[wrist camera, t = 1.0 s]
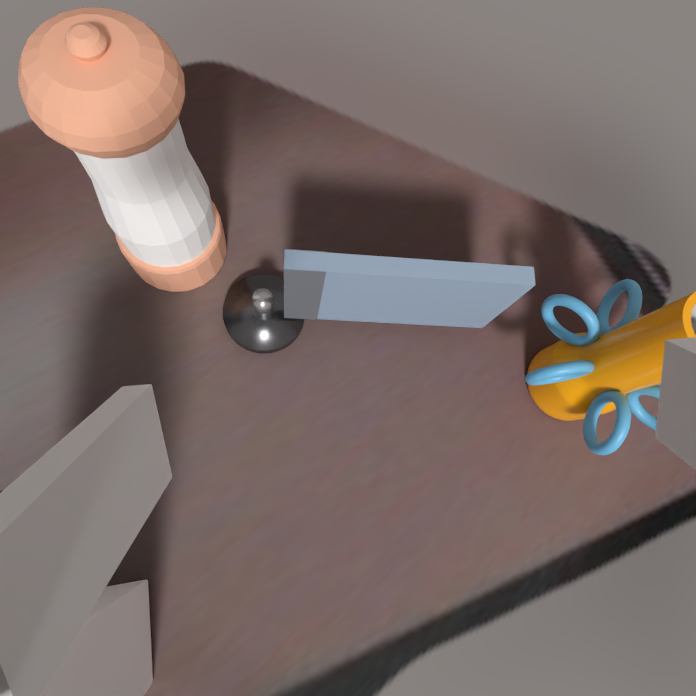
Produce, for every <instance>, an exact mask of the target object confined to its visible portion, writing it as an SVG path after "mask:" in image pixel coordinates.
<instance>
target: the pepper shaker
mask: <svg viewBox="0 0 696 696" xmlns="http://www.w3.org/2000/svg"><path fill="white" fill-rule="evenodd" d="M18 85H19V89H20V92H21V96H22V99H23V101H24V103H25V106H26V109H27V111H28V113H29V116H30V118H31V119H32V120H33V121H34V122H35V123H36V124H37V125H38V127H39V128H40V129H41V130H42V131H43V132H44V133H45V134H46V135H47V136H49V137H50V138H52V139H53V140H55V141H57V142H58V143H60V144H62V145H64V146H66V147H68V148H69V149H71V150H73V151H74V152H75V153H76V155H77V157H78V158H79V160H80V162H81V163H82V165H83V166H84V168H85V170H86V171H87V173H88V175H89V176H90V178H91V179H92V182H93V185H94V188H95V191H96V194H97V197H98V200H99V203H100V206H101V208H102V211H103V213H104V216H105V218H106V220H107V223H108V224H109V226H110V227H111V228H112V230H113V231H114V232H115V234H116V240H117V242H118V245H119V247H120V249H121V252H122V253H123V255H124V256H125V258H126V259H127V260H128V262H129V263H130V265H131V266H132V268H133V269H134V270H135V272H136V273H137V274H138V275H139V276H140V277H141V278H142V279H143V280H144V281H145V282H146V283H148V284H150V285H152V286H154V287H155V288H157V289H161V290H166V291H171V292H180V291H190V290H192V289H195V288H197V287H200V286H203V285H204V284H206V283H207V282H208V281H209V280H211V279H212V278H213V277H215V276H216V274H217V273H218V271H219V270H220V268H221V267H222V265H223V263H224V259H225V256H226V252H227V249H226V238H225V234H224V229H223V225H222V221H221V217H220V215H219V212H218V210H217V208H216V206H215V204H214V203H213V202H212V201H211V198H210V193H209V188H208V186H207V184H206V182H205V180H204V178H203V175H202V174H201V172H200V170H199V168H198V166H197V165H196V163H195V161H194V159H193V157H192V156H191V154H190V152H189V150H188V148H187V145H186V142H185V139H184V135H183V132H182V129H181V125H180V122H179V119H178V118H179V115H180V112H181V109H182V106H183V103H184V98H185V82H184V73H183V71H182V69H181V67H180V65H179V63H178V61H177V58H176V56H175V55H174V53H173V51H172V50H171V48H170V47H169V45H168V44H167V43H166V42H165V41H164V40H163V39H162V38H161V37H160V36H159V35H158V34H157V33H156V32H155V31H154V30H153V29H152V28H150V27H149V26H148V25H146V24H145V23H143V22H142V21H140V20H138V19H136V18H134V17H132V16H130V15H129V14H127V13H125V12H120V11H116V10H112V9H108V8H78V9H75V10H71V11H66V12H62V13H60V14H58V15H56V16H54V17H52V18H51V19H49V20H47V21H45V22H43V23H42V24H41V25H40V26H39V27H38V28H37V29H36V30H35V31H34V32H33V33H32V34H31V35H30V36H29V38H28V40H27V43H26V45H25V47H24V49H23V51H22V54H21V58H20V62H19V80H18Z"/></svg>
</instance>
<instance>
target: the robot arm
mask: <svg viewBox="0 0 696 696" xmlns="http://www.w3.org/2000/svg"><path fill="white" fill-rule="evenodd" d="M655 438H656V439H657V440H658V441H660V442H661V443H662V444H663V445H665V446H666V447H667V448H668V449H670V450H671V451H672V452H673V453H675V454H676V455H677V456H679V457H680V458H681V459H682V460H684V461H685V462H686V463H687V464H689V465H690V466H691V467H692V468H694V469H695V470H696V337H693V338H681V339H670V340H665V349H664V358H663V368H662V377H661V387H660V396H659V406H658V415H657V425H656V434H655ZM171 479H172V473H171V469H170V464H169V460H168V455H167V451H166V446H165V442H164V437H163V433H162V428H161V424H160V419H159V415H158V410H157V406H156V401H155V397H154V392H153V388H152V384H145V385H134V386H122V387H121V388H120V389H119V390H118V391H117V392H116V393H114V394H113V395H112V396H111V397H110V398H109V399H107V400H106V401H105V402H104V403H103V404H102V405H101V406H99V407H98V408H97V409H96V410H95V411H94V412H93V413H91V414H90V415H89V416H88V417H87V418H86V419H85V420H83V421H82V422H81V423H80V424H79V425H78V426H77V427H75V428H74V429H73V430H72V431H71V432H70V433H68V434H67V435H66V436H65V437H64V438H63V439H62V440H60V441H59V442H58V443H57V444H56V445H55V446H54V447H52V448H51V449H50V450H49V451H48V452H47V453H46V454H44V455H43V456H42V457H41V458H40V459H39V460H38V461H36V462H35V463H34V464H33V465H32V466H31V467H29V468H28V469H27V470H26V471H25V472H24V473H23V474H21V475H20V476H19V477H18V478H17V479H16V480H15V481H13V482H12V483H11V484H10V485H9V486H8V487H7V488H5V489H4V490H2V491H0V696H40V694H41V693H42V691H43V689H44V688H45V686H46V685H47V683H48V681H49V680H50V678H51V676H52V675H53V673H54V671H55V670H56V668H57V666H58V665H59V663H60V661H61V660H62V658H63V657H64V655H65V653H66V652H67V650H68V648H69V647H70V645H71V643H72V642H73V640H74V638H75V637H76V635H77V633H78V632H79V630H80V629H81V627H82V625H83V624H84V622H85V620H86V619H87V617H88V615H89V614H90V612H91V610H92V609H93V607H94V605H95V604H96V602H97V601H98V599H99V597H100V596H101V594H102V592H103V591H104V589H105V587H106V586H107V584H108V582H109V581H110V579H111V578H112V576H113V574H114V573H115V571H116V569H117V568H118V566H119V564H120V563H121V561H122V559H123V558H124V556H125V554H126V553H127V551H128V550H129V548H130V546H131V545H132V543H133V541H134V540H135V538H136V536H137V535H138V533H139V531H140V530H141V528H142V526H143V525H144V523H145V522H146V520H147V518H148V517H149V515H150V513H151V512H152V510H153V508H154V507H155V505H156V503H157V502H158V500H159V498H160V497H161V495H162V494H163V492H164V490H165V489H166V487H167V485H168V484H169V482H170V480H171Z"/></svg>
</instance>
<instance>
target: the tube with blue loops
mask: <svg viewBox="0 0 696 696" xmlns="http://www.w3.org/2000/svg"><path fill="white" fill-rule="evenodd" d="M624 291H627V292H628V295H629V301H628V306H627V309H626V312H625V314H624V316H623V318H622V319H621V321H620V322H619V323H618V324H617V325H616V326H615V327H613V328H610V327H609V323H608V319H609V313H610V310H611V308H612V305H613V303H614V302H615V300H616V299H617V297H618V296H619V295H620V294H621V293H623V292H624ZM641 305H642V291H641V288H640V286H639V285H638V283H636V282H635V281H633V280H629V279H626V280H622V281H619V282H617V283H616V284H614V285H613V286H612V287H611V288H610V289H609V290H608V292H607V293H606V294H605V296H604V298H603V299H602V301H601V304H600V306H599V309H598V313H597V316H596V315H595V313H594V312H593V311H592V310H591V309H590V308H589V307H588V306H587V305H586V304H585V303H583V302H582V301H580V300H579V299H577V298H575V297H572V296H569V295H565V294H555V295H551V296H549V297H548V298H546V299H545V300H544V302H543V304H542V307H541V314H542V318H543V320H544V322H545V324H546V326H547V327H548V328H549V330H550V331H551V332H552V333H553V334H554V335H556V336H557V337H558V338H560V339H561V340H560V341H558V342H556V343H554V344H553V345H551V346H549V347H547V348H545V349H543V350H542V351H540V352H539V353H538V354H537V355H536V356H535V357H534V358H533V359H532V361H531V363H530V365H529V368H528V372H527V375H526V377H525V381H526V383H527V385H528V390H529V392H530V395H531V397H532V399H533V401H534V402H535V403H536V405H537V406H538V407H539V408H540V409H541V410H542V411H543V412H544V413H546V414H548V415H549V416H551V417H553V418H556V419H559V420H564V421H573V420H579V419H583V418H585V419H584V425H583V434H584V440H585V443H586V445H587V446H588V448H589V449H590V450H591V451H592V452H593V453H595V454H598V455H608V454H610V453H612V452H614V451H615V450H617V449H618V448H619V447H620V446H621V444H622V443H623V442H624V440H625V438H626V436H627V434H628V431H629V428H630V423H631V412H632V413H633V414H634V415H635V416H636V417H637V418H638V419H639V420H640V421H641V422H643V423H644V424H645V425H647V426H649V427H650V428H652V429H654V430H656V425H657V418H656V417H654V416H653V415H651V414H650V413H649V412H647V411H646V410H645V409H644V408H643V407H642V405H641V404H640V402H639V399H638V397H639V395H650V396H653V397H656V398H658V399H659V396H660V387H661V386H659V385H658V384H661V377H662V368H663V358H664V349H665V340H670V339H681V338H693V337H696V292H694V293H692V294H689V295H687V296H685V297H683V298H681V299H679V300H677V301H675V302H672V303H671V304H668V305H666V306H664V307H662V308H660V309H658V310H655V311H653V312H651V313H649V314H647V315H645V316H643V317H641V318H638V319H637V317H638V315H639V312H640V309H641ZM555 306H564V307H567V308H569V309H571V310H573V311H574V312H576V313H577V314H578V315H579V316H580V317H581V318H582V319H583V320H584V322H585V323H586V326H587V329H588V332H583V333H576V334H574V333H572V332H570V331H568V330H566V329H565V328H564V327H563V326H561V325H560V323H559V322H558V321H557V320H556V318H555V316H554V313H553V308H554V307H555ZM615 409H616V411H617V418H616V423H615V427H614V429H613V432H612V433H611V435H610V437H609V438H608V439H607V440H606V441H604V442H602V443H600V442H599V441H598V439H597V436H596V424H597V420H598V417H599V415H601V414H605V413H608V412H611V411H613V410H615Z"/></svg>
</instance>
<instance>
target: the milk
mask: <svg viewBox="0 0 696 696" xmlns="http://www.w3.org/2000/svg"><path fill="white" fill-rule="evenodd" d="M152 682H153V671H152V651H151V630H150V609H149V589H148V580H140V581H135V582H129V583H124V584H118V585H112V586H107V587H105V589H104V591H103V592H102V594H101V596H100V597H99V599H98V601H97V602H96V604H95V605H94V607H93V609H92V610H91V612H90V614H89V615H88V617H87V619H86V620H85V622H84V624H83V625H82V627H81V629H80V630H79V632H78V633H77V635H76V637H75V638H74V640H73V642H72V643H71V645H70V647H69V648H68V650H67V652H66V653H65V655H64V657H63V658H62V660H61V661H60V663H59V665H58V666H57V668H56V670H55V671H54V673H53V675H52V676H51V678H50V680H49V681H48V683H47V685H46V686H45V688H44V689H43V691H42V693H41V694H40V696H143V695H144V694H145V693H146V691H147V690H148V688H149V687H150V685H151V684H152Z"/></svg>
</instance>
